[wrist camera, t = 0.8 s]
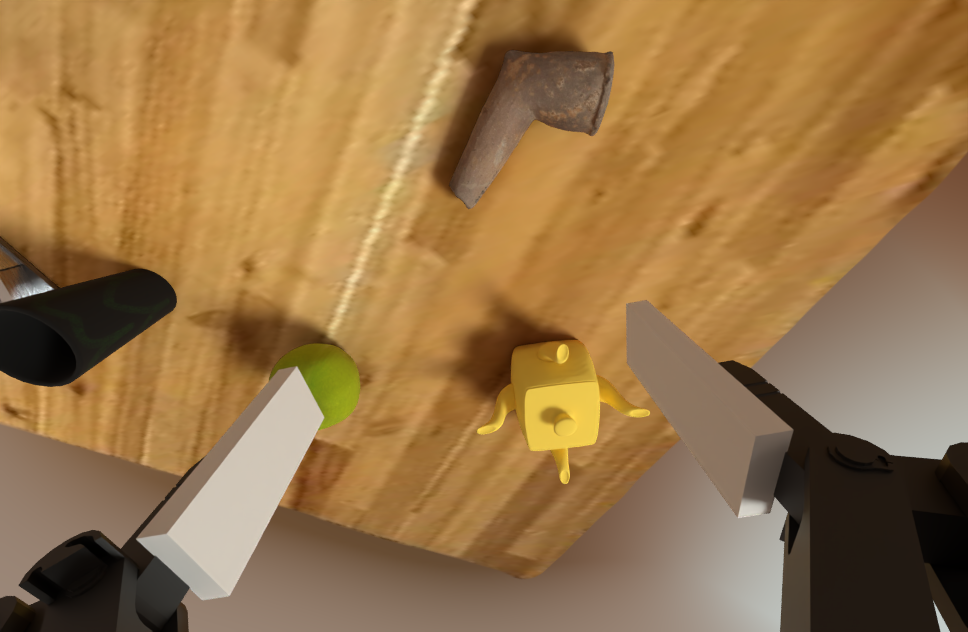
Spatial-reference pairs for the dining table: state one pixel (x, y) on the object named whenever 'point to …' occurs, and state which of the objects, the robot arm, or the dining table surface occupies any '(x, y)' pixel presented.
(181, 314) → the dining table surface
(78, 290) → the cup
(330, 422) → the fruit
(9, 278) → the duct collar
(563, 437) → the teapot
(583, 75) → the pipe
